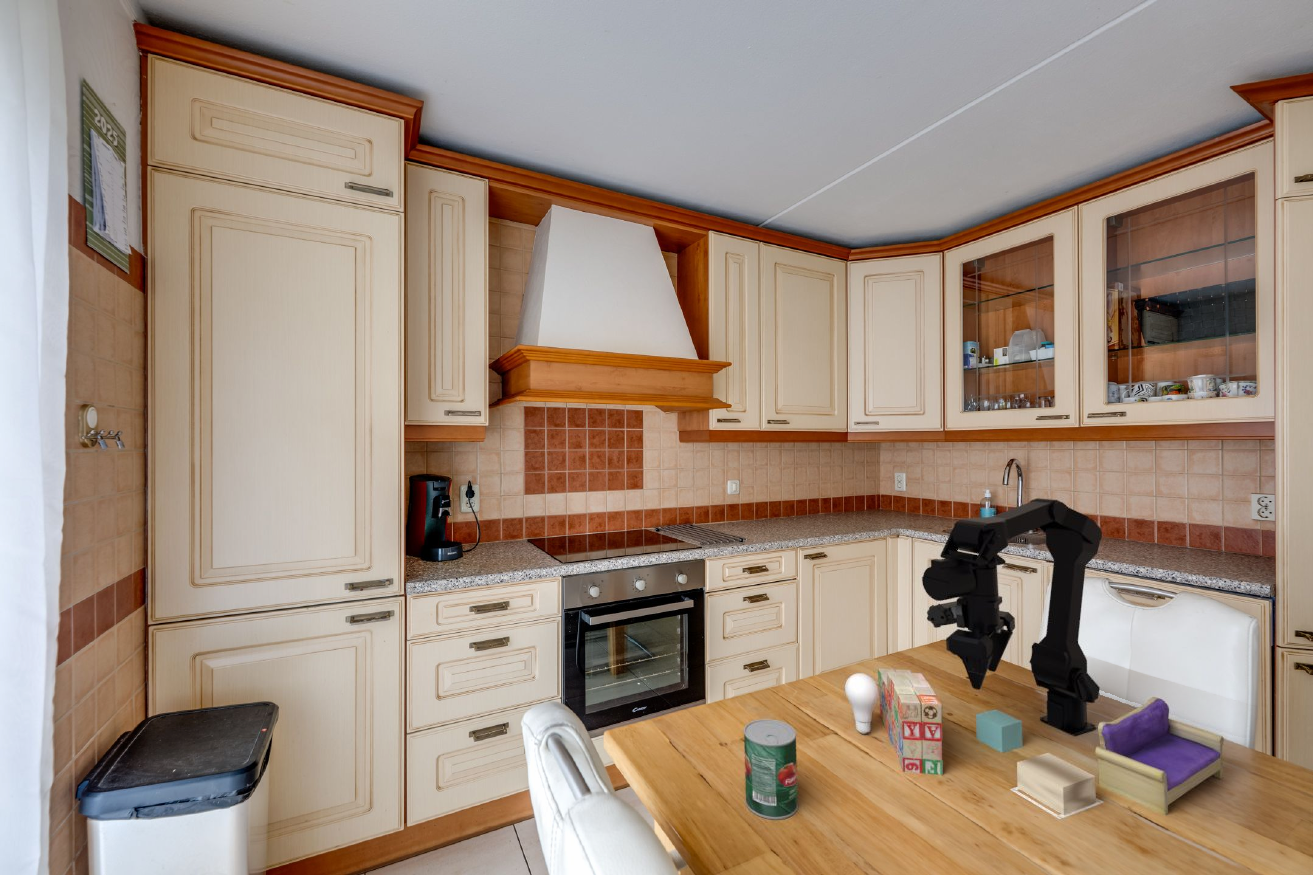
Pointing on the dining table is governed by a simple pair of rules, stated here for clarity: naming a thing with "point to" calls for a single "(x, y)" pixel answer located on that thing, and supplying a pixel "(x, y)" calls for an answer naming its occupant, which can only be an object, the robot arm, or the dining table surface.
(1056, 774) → the block
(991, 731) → the teal block
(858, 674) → the lightbulb
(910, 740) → the stack of blocks
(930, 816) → the dining table surface
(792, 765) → the canned tomato
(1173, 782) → the toy sofa
